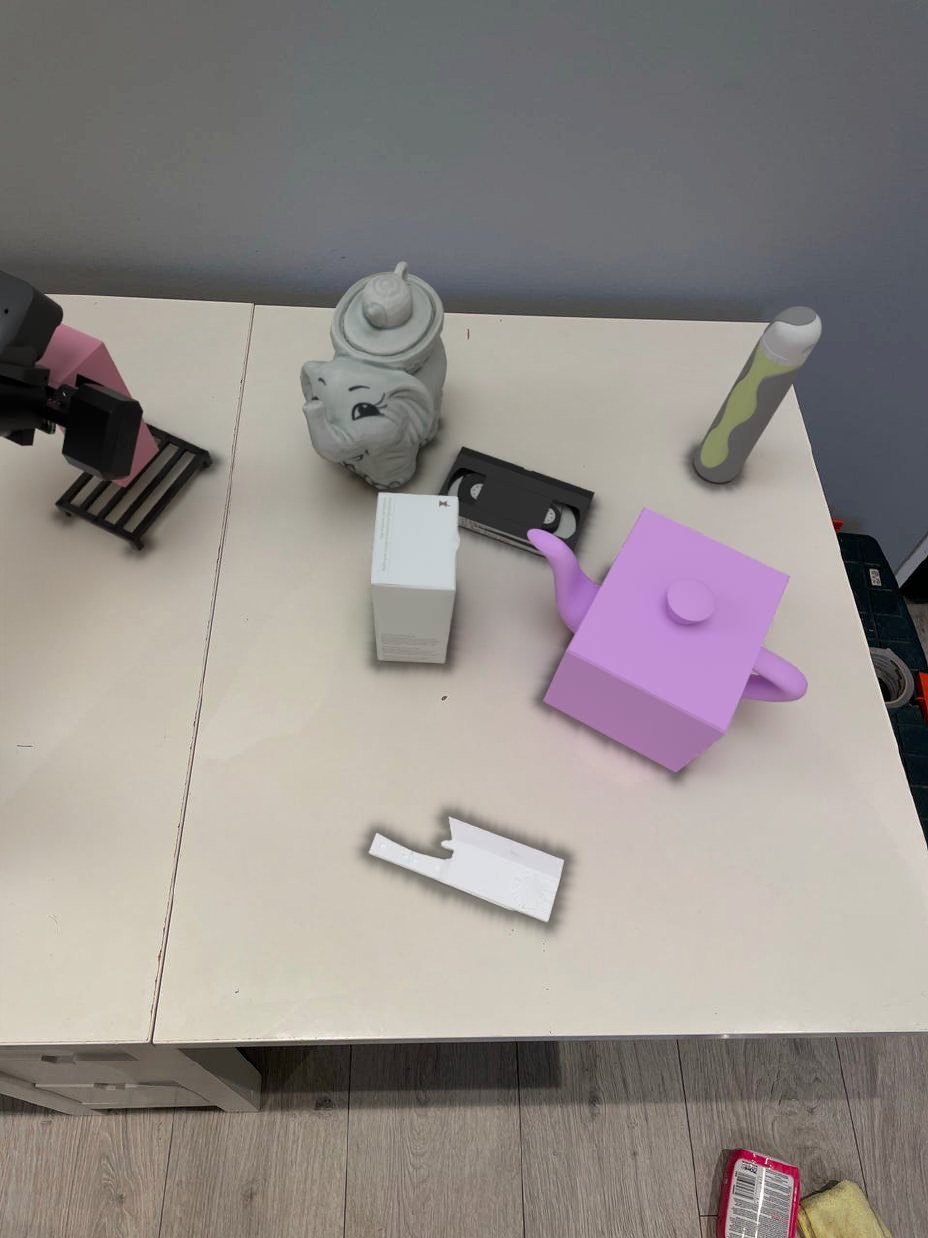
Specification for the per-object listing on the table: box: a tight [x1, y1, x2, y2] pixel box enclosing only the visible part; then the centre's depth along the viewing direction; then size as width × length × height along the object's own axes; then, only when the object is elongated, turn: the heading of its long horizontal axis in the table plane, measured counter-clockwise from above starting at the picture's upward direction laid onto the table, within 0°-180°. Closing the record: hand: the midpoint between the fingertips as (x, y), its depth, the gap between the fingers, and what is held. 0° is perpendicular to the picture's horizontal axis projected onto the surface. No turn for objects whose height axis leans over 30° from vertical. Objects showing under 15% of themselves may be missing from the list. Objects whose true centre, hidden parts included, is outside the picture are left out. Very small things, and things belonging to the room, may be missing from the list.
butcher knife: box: [368, 816, 565, 923], centre depth 59 cm, size 5×15×1 cm, turn 70°
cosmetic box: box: [370, 491, 461, 665], centre depth 61 cm, size 8×7×16 cm
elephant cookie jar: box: [299, 260, 448, 490], centre depth 68 cm, size 16×15×19 cm
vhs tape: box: [437, 445, 595, 559], centre depth 74 cm, size 14×8×2 cm, turn 69°
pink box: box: [35, 322, 159, 487], centre depth 63 cm, size 5×4×13 cm
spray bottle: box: [693, 305, 823, 484], centre depth 69 cm, size 5×5×20 cm
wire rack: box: [54, 422, 213, 552], centre depth 72 cm, size 12×9×2 cm
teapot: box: [527, 506, 809, 774], centre depth 62 cm, size 15×25×14 cm, turn 61°
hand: (104, 399), depth 63 cm, fingers closed on pink box, 4 cm apart
